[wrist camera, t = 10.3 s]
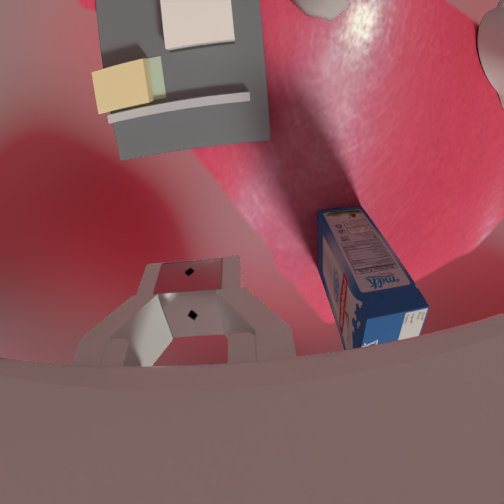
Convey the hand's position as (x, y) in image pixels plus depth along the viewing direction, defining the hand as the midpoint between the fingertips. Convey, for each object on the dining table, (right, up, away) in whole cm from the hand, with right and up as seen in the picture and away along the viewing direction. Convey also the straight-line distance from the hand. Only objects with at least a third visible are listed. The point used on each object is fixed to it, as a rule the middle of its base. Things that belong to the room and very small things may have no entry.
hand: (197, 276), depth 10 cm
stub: (-12, +19, +20) cm, 30 cm away
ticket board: (-6, +22, +20) cm, 30 cm away
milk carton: (+14, +3, +34) cm, 37 cm away
